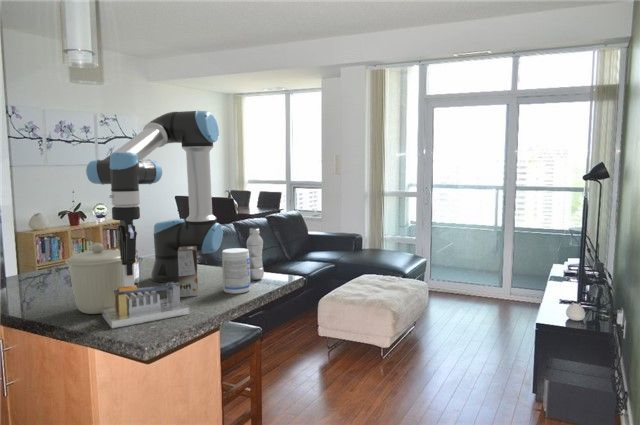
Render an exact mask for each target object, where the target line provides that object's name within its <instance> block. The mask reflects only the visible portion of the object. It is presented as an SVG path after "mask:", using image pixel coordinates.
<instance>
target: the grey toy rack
mask: <svg viewBox="0 0 640 425" xmlns="http://www.w3.org/2000/svg"><path fill="white" fill-rule="evenodd" d="M165 284H166V285H165V286H169V284H174V285H175V282H165ZM171 288H172V290H166V298H161V297H160V294H159V293H158V291H149V292H138V293H129V294H128V293H127V294H115V293H114V297H115V307H112V308H106V309H102V313H101V315H102V318H103V319H104V320H105V321H106V322H107V324H108V325H109V327H110V328H111V329H116V328H122V327H127V326H132V325H133V326H134V325H137V324H143V323H148V322H154V321H159V320H164V319H169V318H174V317H180V316H186V315H190V307H189V306H188V305H186V304H185V303H184V302H182V301H181V297H180V289H179V285H175V286H171ZM136 294H137V295H136ZM160 298H161V299H160Z"/></svg>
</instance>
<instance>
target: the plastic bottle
mask: <svg viewBox="0 0 640 425" xmlns="http://www.w3.org/2000/svg"><path fill="white" fill-rule="evenodd" d="M260 233H261V232H260V227H251V228H249V236H248V238H247V240H246V249H248V250H249V262H250V281H253V280H254V281H257V280H261V279H263V277H264V274H265V272H264V271H265V270H264V265H263V248H264V240H263V238H262V237H261V235H260Z"/></svg>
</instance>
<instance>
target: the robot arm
mask: <svg viewBox="0 0 640 425" xmlns="http://www.w3.org/2000/svg"><path fill="white" fill-rule="evenodd" d="M219 134H220V131H219V125H218V121H217V119H216V118H215V116H214V115H213V114H212V112H210V111H208V110H207V111H206V110H190V111H187V110H186V111H170V112H167V113H164V114H161V115H160V116H158V117H155V118H154V119H152V120H151V121H149V122H147V124H145V125H144V126H143V128H142V131H141V132H139V133H138V134H137V135H135V136H134V137H132V138H131V139H130V140H129V141H127V142H126V143H124V144H122V146H120V147H118V149H116V150H115V151H114V152H112V153H111V154H110V155H108V156H107V157H105V158H103V159H96V160H91V161H89V162H88V164H87V166H86V169H85V173H86V176H87V179H88V181H89V182H90V183H92V184H95V185H102V186H103V185H110V187H111V188H110V192H111V194H109V198H110V199H111V205H112V208H111V219H112V220H113V221H119V225H118V226H117V229H116V231H117V234H118V243H119V251H120V256H121V258H120V259H121V260H122V265H123V283H124V287H127V286H134V285H135V269H134V264H135V263H136V261H137V260H136V257H137V256H136V255H137V254H136V253H137V249H136V248H137V235H138V232H137V231H136V225H134V221H135V220H139V219H140V218H141V209H140V207H139V205H140V203H141V202H140V189H139V188H140V187H139V186H140V185H152V184H156V183H157V182H159V181H160V180H161V178H162V176H163V167H162V166H161V164H160V163H159V162H158V161H156V160H152V159H145V158H147V156H149V155H150V154H151V153H153V151H155V150H156V149H157V148H162V147H164V146H166V145H168V144H175V143H176V144H177V143H178V144H181V149H182V150H184V151H185V154H186V155H185V157H186V173H187V174H186V175H187V177H186V178H187V193H188V208H189V209H188V212H189V214H188V216H187V217H186V218H177V219H168V220H164V221H158V222H156V223H155V224H154V226H153V243H154V257H155V258H154V262H153V267H152V270H151V274H150V275H151V276H150V277H151V279H150V280H151V281H153V282H156V283H170V282H173V283H175V282H177V283H178V282H179V273H178V248H179V247H185V246H197V254H204V255H205V254H214V253H216V252H217V251H218V250H219V249H220V247H221V245H222V242H223V237H224V236H223V235H224V229H223V226H222V224H220V223H219V222H217V219H218V218H217V216H215V215H214V214H213V202H212V201H213V200H212V180H211V179H212V178H211V177H212V176H211V157H210V151H211V150H212V149H213V148H214V143H215V142H217V141H218V140H219Z"/></svg>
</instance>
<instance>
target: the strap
mask: <svg viewBox="0 0 640 425" xmlns="http://www.w3.org/2000/svg"><path fill="white" fill-rule="evenodd" d="M171 286H176V285H175V283H174V284H169V286H166V285H162V286H161V285H160V286H149V287H148V286H147V287H138V286H137V285H136V284H134V286H127V287H124V286H118V287H117V290H114V293H115V294H127V295H128V294H130V293H134V294H137V293H138V292H141V293H144V292H149V293H150V292H151V291H155V292H158V291H159V292H160V291H167V290H172V288H171Z"/></svg>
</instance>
